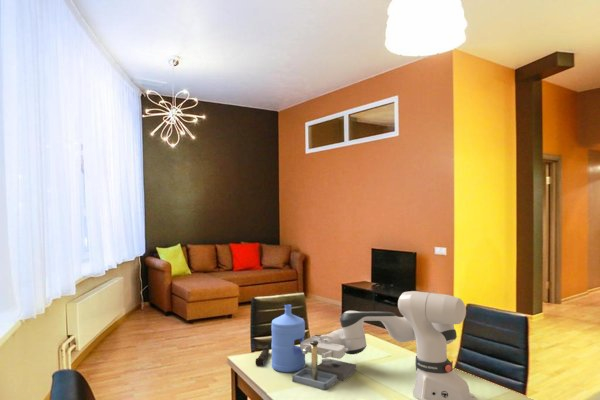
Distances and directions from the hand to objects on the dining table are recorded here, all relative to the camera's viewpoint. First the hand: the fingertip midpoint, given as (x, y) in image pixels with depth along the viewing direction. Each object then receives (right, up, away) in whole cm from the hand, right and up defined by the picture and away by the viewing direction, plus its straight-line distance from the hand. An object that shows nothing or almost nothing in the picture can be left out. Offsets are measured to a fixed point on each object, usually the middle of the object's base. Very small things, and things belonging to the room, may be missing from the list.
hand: (313, 354), depth 167 cm
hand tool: (-24, -13, +27) cm, 38 cm away
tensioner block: (+10, -12, +9) cm, 18 cm away
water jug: (-11, -13, +17) cm, 24 cm away
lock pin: (+1, -11, 0) cm, 11 cm away
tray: (+1, -12, 0) cm, 12 cm away
